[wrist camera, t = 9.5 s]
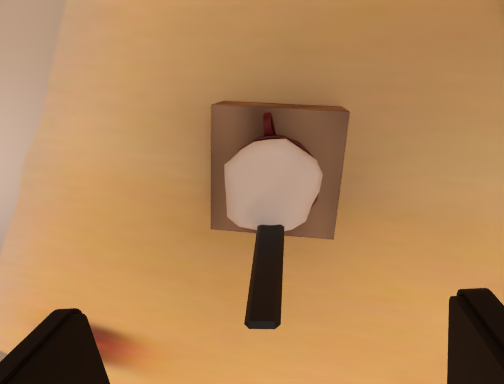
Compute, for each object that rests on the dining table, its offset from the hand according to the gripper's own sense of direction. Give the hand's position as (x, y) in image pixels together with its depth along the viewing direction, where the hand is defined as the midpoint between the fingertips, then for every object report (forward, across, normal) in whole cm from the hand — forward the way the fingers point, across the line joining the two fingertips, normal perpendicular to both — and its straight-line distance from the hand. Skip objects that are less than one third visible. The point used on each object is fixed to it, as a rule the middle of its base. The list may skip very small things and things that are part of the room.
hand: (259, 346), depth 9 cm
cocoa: (+19, +1, +1) cm, 19 cm away
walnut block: (+24, +1, +1) cm, 24 cm away
